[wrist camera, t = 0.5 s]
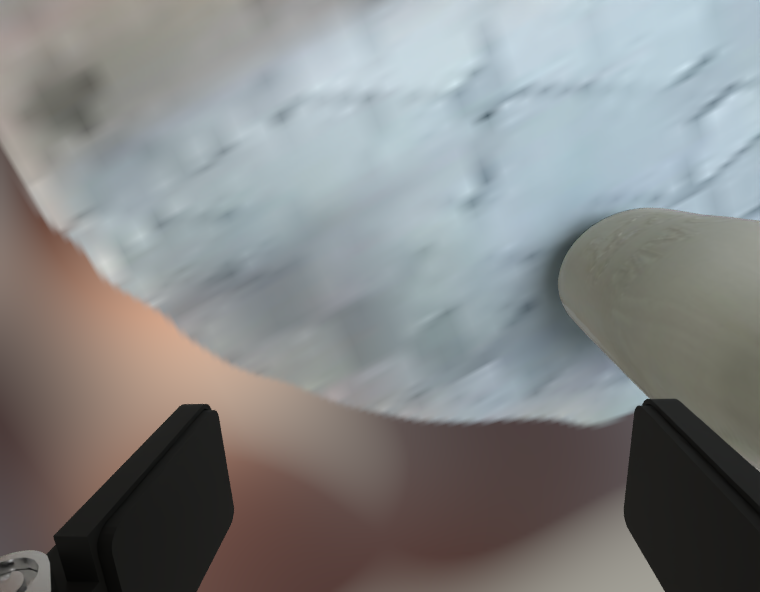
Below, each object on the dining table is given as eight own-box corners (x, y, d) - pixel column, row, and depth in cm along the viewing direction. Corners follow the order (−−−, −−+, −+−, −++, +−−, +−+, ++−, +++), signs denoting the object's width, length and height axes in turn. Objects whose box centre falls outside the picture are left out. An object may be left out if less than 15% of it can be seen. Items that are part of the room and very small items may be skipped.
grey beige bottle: (601, 351, 38) (1059, 806, 11) (517, 266, 36) (804, 548, 10) (704, 267, 35) (1620, 589, 8) (618, 173, 34) (1385, 200, 7)
